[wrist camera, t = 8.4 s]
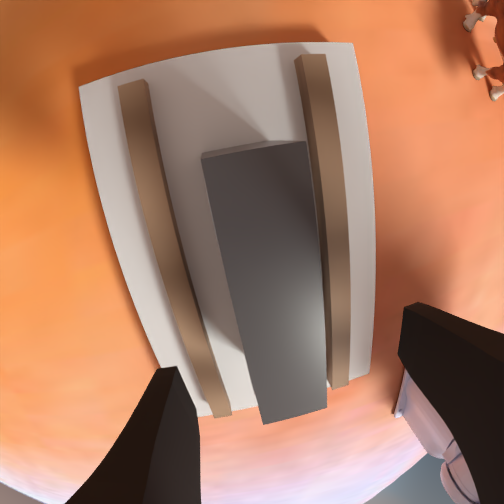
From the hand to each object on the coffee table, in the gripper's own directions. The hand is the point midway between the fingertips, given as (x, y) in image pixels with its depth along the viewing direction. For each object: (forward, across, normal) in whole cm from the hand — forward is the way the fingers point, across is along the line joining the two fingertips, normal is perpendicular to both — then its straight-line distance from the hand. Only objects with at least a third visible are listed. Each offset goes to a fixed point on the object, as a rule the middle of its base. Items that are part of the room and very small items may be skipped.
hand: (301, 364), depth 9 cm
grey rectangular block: (+8, 0, 0) cm, 8 cm away
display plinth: (+10, 0, 0) cm, 10 cm away
